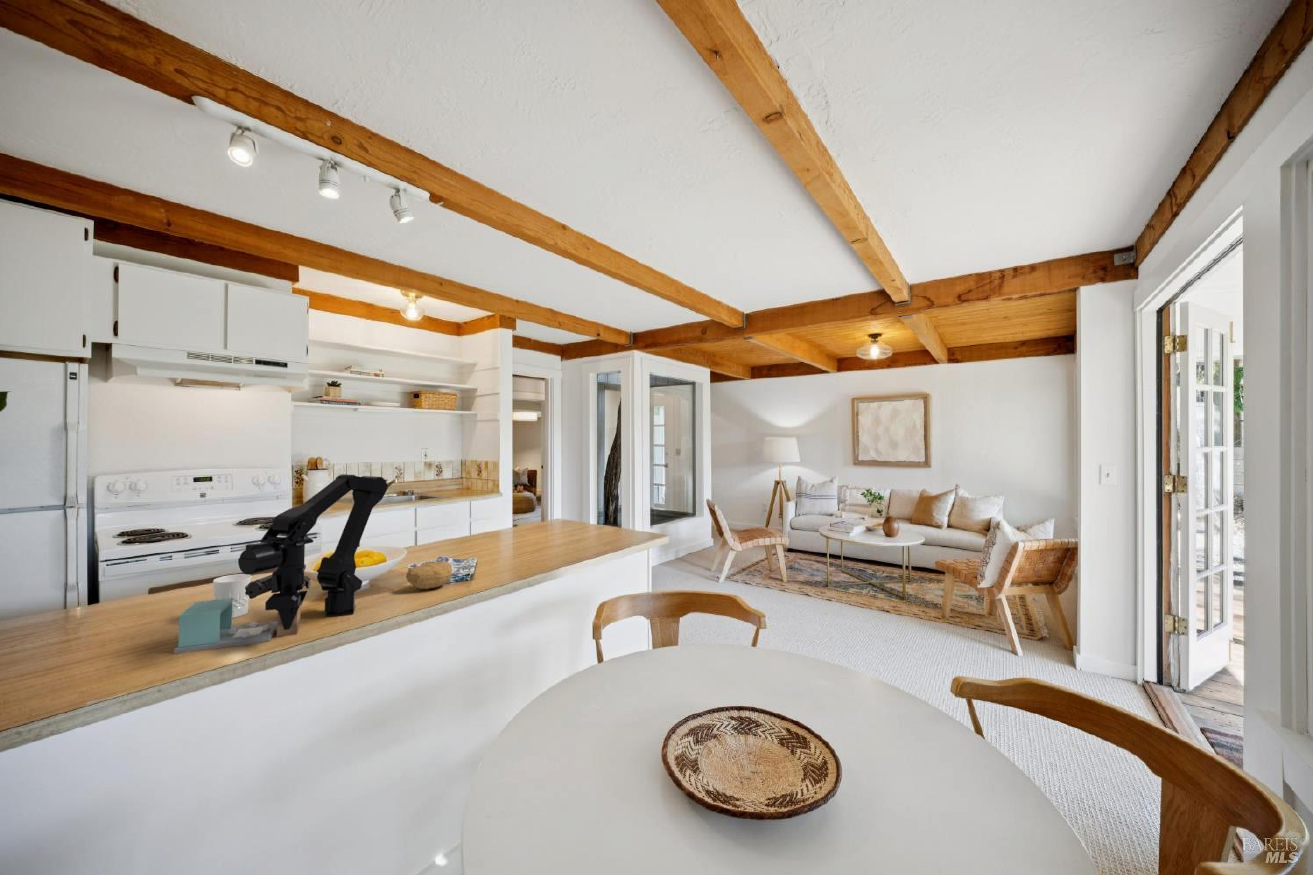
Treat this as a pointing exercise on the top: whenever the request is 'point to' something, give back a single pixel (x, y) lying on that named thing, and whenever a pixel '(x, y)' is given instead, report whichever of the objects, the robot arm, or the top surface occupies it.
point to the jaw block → (293, 628)
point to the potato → (429, 575)
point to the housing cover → (204, 622)
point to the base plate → (237, 637)
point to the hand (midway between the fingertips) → (288, 626)
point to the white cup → (233, 592)
